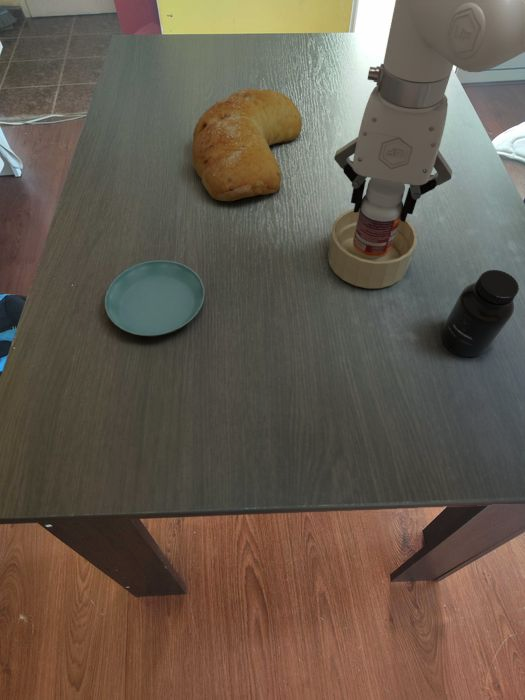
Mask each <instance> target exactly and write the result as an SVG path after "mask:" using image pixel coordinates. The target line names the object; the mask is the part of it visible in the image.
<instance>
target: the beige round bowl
mask: <svg viewBox="0 0 525 700" xmlns="http://www.w3.org/2000/svg"><path fill="white" fill-rule="evenodd" d="M359 209H360V208H359ZM358 214H359V212H357V213H355V212H354V207H353V208H350V209H348V210H346V211H344V212H342V213H340V214H339V215H338V217H337V218H336V219H335V220H334V221H333V224H332V227H331V232H330V237H329V243H328V244H329V245H328V251H327V259H328V265H329V267H330V268H331V270H332V272H334V274H336V276H338V277H339V278H340V279H341V280H342V281H344V282H346V283H348V284H351V285H353V286H355V287H358V288H359V287H360V288H364V289H383V288H386V287H390V286H393V285H395V284H396V283H398V282H399V281H402V279H403V278H404V276H405V275H406V274H407V272H408V270H409V267H410V265H411V264H410V263H411V262H412V259H413V257H414V253H415V251H416V248H417V244H418V235H417V231H416V228H415V227H414V225H413V224H412V223H411V222H410V220H409V219H407V218H406V220H405V222H402V220H400V222H399V225H398V229H397V232H396V236H395V239H394V242H393V245H392V248H391V251H390V252H389V253H388V254H387V255H386V256H384V257H382V258H368V257H364V256H362V255H360V254H359V253H358V252H357V251H356V250H355V249H354V246H353V238H354V233H355V228H356V224H357V219H358ZM400 219H401V218H400Z"/></svg>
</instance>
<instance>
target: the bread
mask: <svg viewBox="0 0 525 700" xmlns="http://www.w3.org/2000/svg"><path fill="white" fill-rule="evenodd" d="M302 127H303V123H302V116H301V113H300V109H298V106H297V105H296V103H294V101H293V100H292V99H291V98H290V97H288V96H287V95H286V94H284V93H282V92H279V91H276V90H273V89H259V88H244V89H241V90H238V91H236V92H234V93H232V94H231V95H229V96H228V97H226V98H223V99H221V100H219V101H216V102H215V103H214V104H213V105H211V106H210V107H209V108H208V109H207V110H206V111H205V112H204V113H202V114H201V116H200V117H199V119H198V121H197V123H196V125H195V127H194V130H193V134H192V135H193V136H192V143H193V144H192V148H191V152H192V153H191V157H192V158H191V159H192V164H193V168H194V169H195V172H196V173H197V175H198V176H199V178H201V183H202V184H203V186H204V188H205V189H206V191H207V193H208V194H209V195H210V197H211V198H213V199H214V200H216V201H221V202H233V201H236V200H241V199H244V198H249V197H255V196H261V195H263V196H264V195H269V194H276V193H277V192H279V190H280V187H281V182H282V172H281V170H280V166H279V163H278V161H277V158H276V157H275V155H274V153H273V151H271V150H272V149H271V148H270V146H272V145H280V144H285V143H289V142H292V141H294V140H296V139H297V138H298V137H299V135H300V134H301V132H302Z"/></svg>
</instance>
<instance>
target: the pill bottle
mask: <svg viewBox="0 0 525 700" xmlns="http://www.w3.org/2000/svg"><path fill="white" fill-rule="evenodd" d="M405 191H406V184H402V183H397V182H391V181H385V180H380V179H374V178H370V179H369V180H368V182H367V187H366V191H365V194H364V195H363V197H362V200H361V204H360V209H359V214H358V219H357V224H356V228H355V233H354V238H353V246H354V249H355V250H356V251H357V252H358V253H359V254H360V255H362V256H364V257H368V258H382V257H384V256H386V255H387V254H388V253H389V252H390V251H391V248H392V245H393V242H394V239H395V236H396V232H397V229H398V225H399V222H400V218H401V215H402V211H403V206H404V202H403V199H404V196H405V195H404V194H405Z"/></svg>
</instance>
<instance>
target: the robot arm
mask: <svg viewBox="0 0 525 700" xmlns="http://www.w3.org/2000/svg"><path fill="white" fill-rule="evenodd" d="M523 53H525V0H395V2H394V7H393V12H392V17H391V23H390V26H389V33H388V37H387V43H386V47H385V53H384V58H383V63H380V65H379V66H377V65H376V67H375V66H369V69H368V74H367V81H372V82H373V83H376V86H375V87H373V90H372V91H371V93H370V95H369V97H368V100H367V103H366V105H365V108H364V112H363V115H362V118H361V122H360V126H359V131H358V135H357V137H355V138H354V139H353V140H351V141H349V142H348V143H346V144H345V145H343V146H342V147H341V148H339V149H337V150H336V151H335V154H334V158H333V159H334V161H335V162H336V163H337V165H338V166H339V167H340V169H342V171H343V174H344V175H345V176H346V178H347V179H348V180H349V181H350V183H351V187H352V188H353V189H352V194H351V199H350V204H354V207H353V208H354V212H355V213H357V212H359V208H360V204H361V200H362V198H363V197H364V191H365V187H366V182H367V178H370V179H371V178H374V179H380V180H385V181H391V182H397V183H402V184H405V185H409V187H408V189H407V193H406V196H405V199H404V202H403V211H402V215H401V219H400V220H402V222H405V220H406V219H407V218H408V215H413V214H414V210H415V207H416V205H417V201H418V200H419V199H420V198H421V197H422V196H424V194H427V193H428V192H430V191H432V190H434V189H435V188H436V187H438V186H441V185H443V184H444V183H446V182H448V181H450V180H451V179H452V175H453V169H452V168H451V166H450V165H449V163H448V162H447V160H446V159H445V158H444V156H443V155H442V153H441V151H440V146H441V142H442V139H443V136H444V131H445V126H446V121H447V115H448V107H449V104H448V97H447V95H446V91H447V87H448V83H449V81H450V78H451V74H452V71H453V69H454V66H455V67H456V68H457V69H459V70H462V71H465V72H468V73H482V72H486V71H489V70H492V69H495V68H496V67H498V66H501V65H503V64H504V63H507V62H508V61H510V60H512V59H514V58H516V57H518V56H520V55H522V54H523ZM351 156H353V160H351V158H350V157H351ZM433 170H435V171H436V172H435V173H434V174H432V173H433Z"/></svg>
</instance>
